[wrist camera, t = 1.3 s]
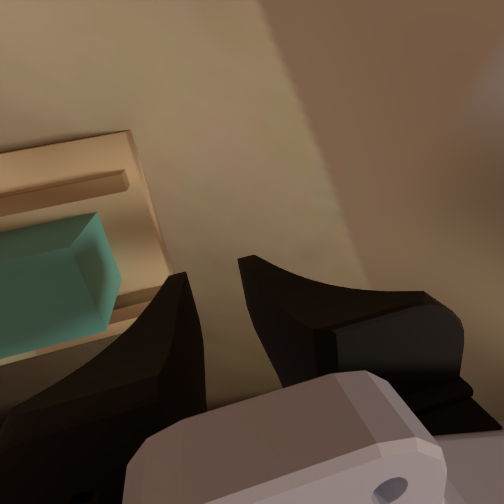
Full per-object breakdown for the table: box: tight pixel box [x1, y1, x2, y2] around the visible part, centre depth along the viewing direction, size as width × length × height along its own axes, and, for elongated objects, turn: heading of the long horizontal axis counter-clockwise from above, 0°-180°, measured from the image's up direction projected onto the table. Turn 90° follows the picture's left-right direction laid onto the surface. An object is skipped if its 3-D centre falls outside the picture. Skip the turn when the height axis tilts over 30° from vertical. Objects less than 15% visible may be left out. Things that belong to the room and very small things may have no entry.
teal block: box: [0, 212, 122, 359], centre depth 15 cm, size 4×5×5 cm
